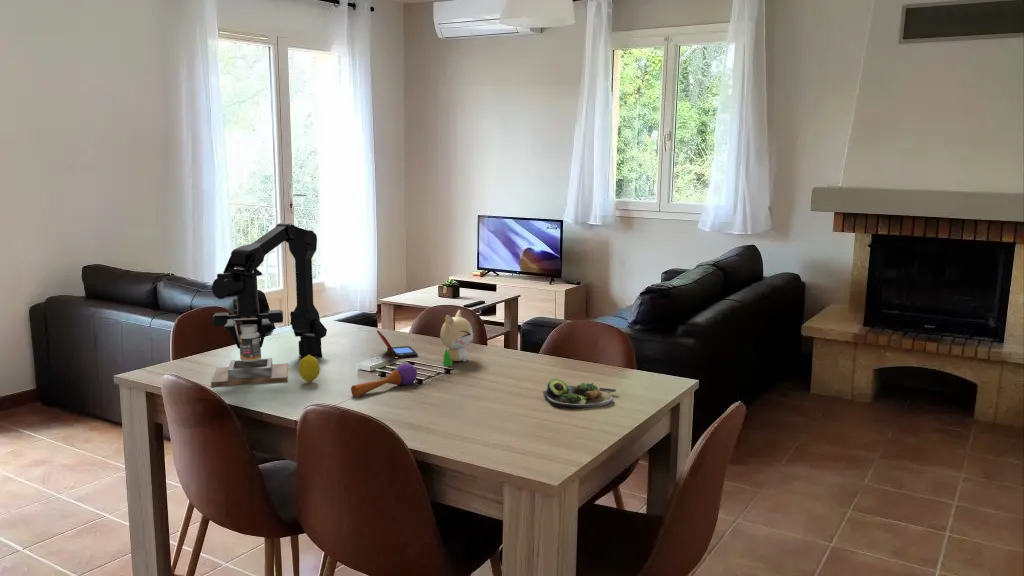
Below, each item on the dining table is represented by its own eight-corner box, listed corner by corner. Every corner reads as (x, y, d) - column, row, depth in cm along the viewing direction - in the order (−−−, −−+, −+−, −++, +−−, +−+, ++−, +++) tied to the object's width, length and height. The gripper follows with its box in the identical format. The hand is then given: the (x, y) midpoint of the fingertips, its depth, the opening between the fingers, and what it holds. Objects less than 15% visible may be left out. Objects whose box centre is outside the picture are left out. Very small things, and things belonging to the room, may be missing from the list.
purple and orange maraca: (346, 380, 212) (405, 361, 226) (350, 402, 212) (410, 381, 226) (358, 380, 208) (418, 360, 221) (363, 402, 208) (423, 381, 222)
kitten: (462, 368, 239) (462, 318, 237) (431, 365, 242) (430, 316, 240) (480, 356, 253) (480, 309, 251) (451, 354, 256) (450, 307, 254)
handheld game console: (418, 357, 253) (418, 334, 251) (384, 360, 249) (383, 337, 248) (409, 348, 264) (409, 326, 263) (376, 351, 261) (376, 329, 259)
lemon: (324, 381, 224) (323, 353, 223) (311, 386, 220) (310, 357, 218) (308, 379, 227) (307, 351, 226) (295, 384, 222) (294, 355, 221)
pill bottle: (236, 361, 227) (233, 327, 226) (249, 356, 233) (246, 323, 231) (252, 363, 225) (249, 328, 224) (265, 358, 231) (263, 324, 229)
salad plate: (605, 387, 220) (606, 371, 219) (629, 407, 203) (629, 389, 202) (537, 392, 216) (537, 375, 215) (555, 412, 198) (555, 394, 198)
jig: (287, 367, 240) (287, 355, 239) (287, 381, 225) (286, 368, 224) (216, 371, 235) (216, 359, 234) (211, 386, 219) (210, 373, 219)
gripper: (282, 287, 236) (284, 339, 238) (214, 290, 231) (217, 343, 234) (281, 293, 225) (284, 348, 228) (210, 296, 221) (214, 352, 223)
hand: (250, 347), depth 228 cm, fingers closed on pill bottle, 6 cm apart
